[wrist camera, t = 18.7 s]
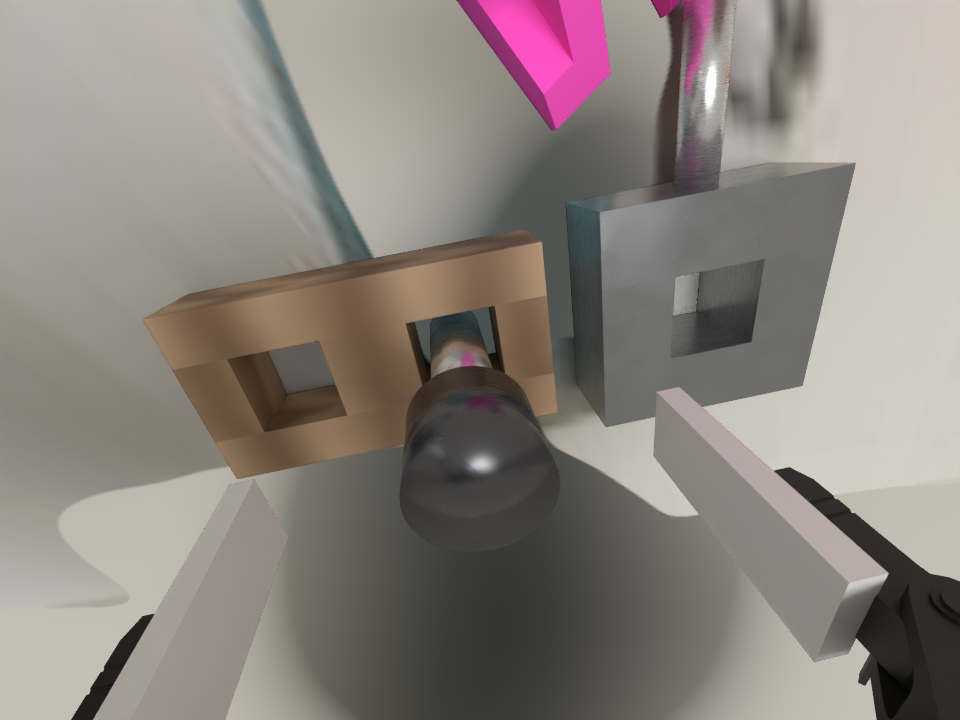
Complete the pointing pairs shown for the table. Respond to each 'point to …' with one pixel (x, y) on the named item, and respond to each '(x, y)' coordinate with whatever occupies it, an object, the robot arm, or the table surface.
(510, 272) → the stand
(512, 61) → the bracket
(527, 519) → the dark knobbed metal peg
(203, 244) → the table surface
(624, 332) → the block
